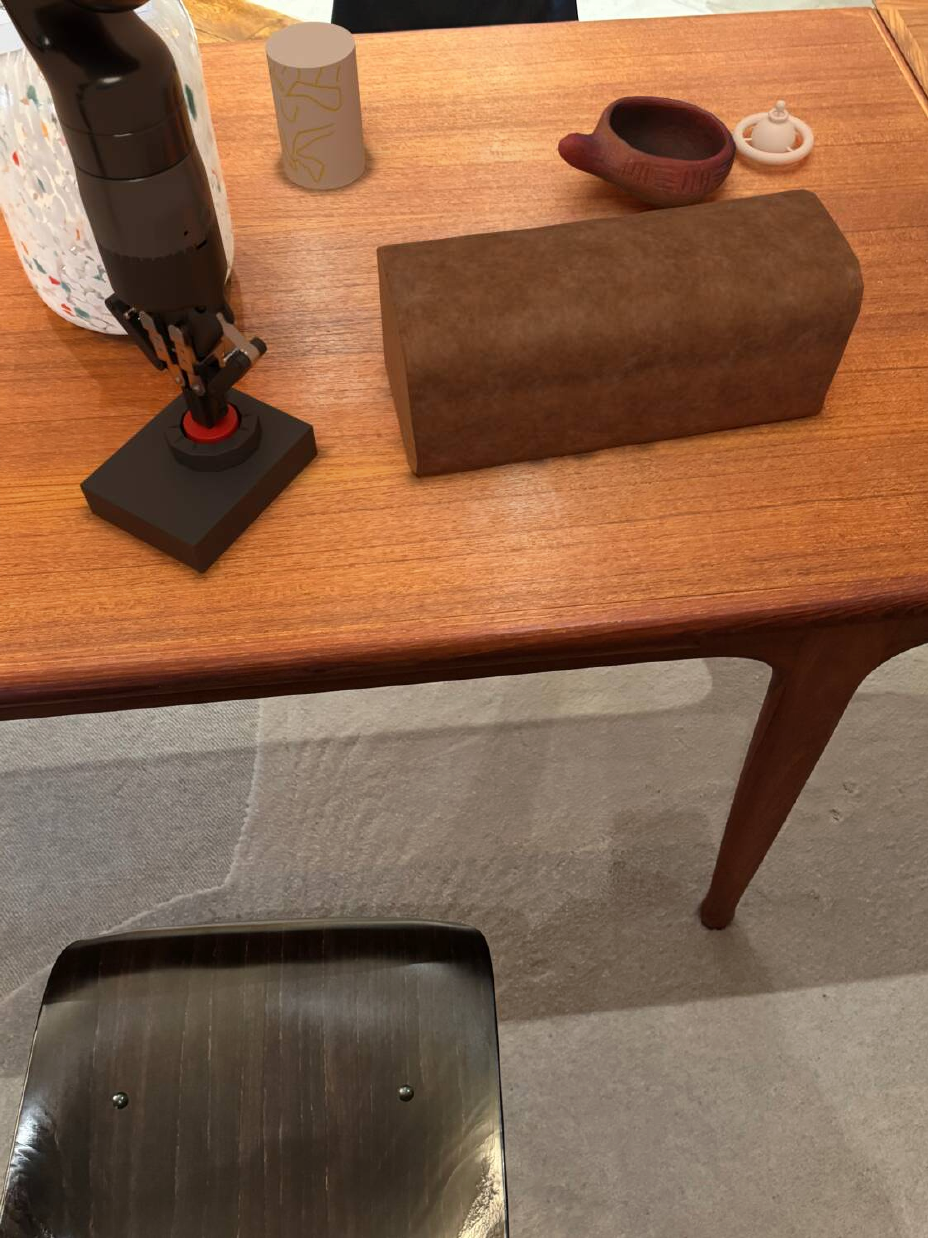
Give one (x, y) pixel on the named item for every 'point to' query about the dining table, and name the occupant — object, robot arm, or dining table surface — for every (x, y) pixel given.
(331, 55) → the cup
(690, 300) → the bread
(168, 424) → the red push button box
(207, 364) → the robot arm
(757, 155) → the ring around a ball
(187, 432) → the power button
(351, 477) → the dining table surface
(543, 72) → the dining table surface
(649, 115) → the bowl
